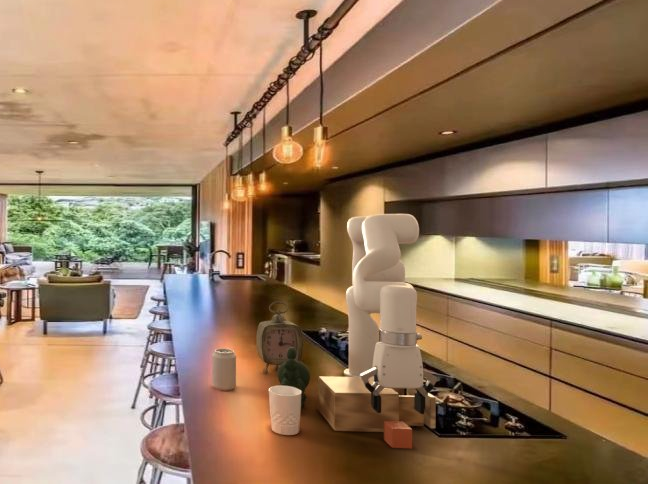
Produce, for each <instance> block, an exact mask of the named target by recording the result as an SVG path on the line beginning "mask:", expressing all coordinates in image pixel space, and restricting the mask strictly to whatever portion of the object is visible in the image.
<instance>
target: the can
mask: <svg viewBox="0 0 648 484" xmlns="http://www.w3.org/2000/svg"><path fill="white" fill-rule="evenodd" d="M211 356H212V358H211V359H212V362H211V363H212V365H211V367H212V368H211V369H212V372H211V373H212V375H211V376H212V377H211V378H212V379H211V380H212V382H211V383H212V386H213V387H214V389H216V390H218V391H226V392H227V391H232V390H234V389H235V388H236V387H237V355H236V354H235V351H234V350H233V349H231V348H216V349H214V352H213V353H212V355H211Z"/></svg>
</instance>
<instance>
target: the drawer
mask: <svg viewBox="0 0 648 484" xmlns="http://www.w3.org/2000/svg"><path fill="white" fill-rule="evenodd" d="M391 389H393V390H394V391H396V392H397V393H398V394H399V421H402V422H404V423H405V424H407V425H408V426H409V427H411V426H412V427H415V426H416V427H424V426H425V425H426V426H427V427H428V428H430V429H436V428H437V427H436V422H437V421H436V420H437V419H436V414H437V413H436V412H437V411H436V409H437V408H436V406H439V407H440V408H445V407H446V405H447V404H446V402H445V401H443V400H442V399H440V398H439V397H437V396H435V395H433V394H431V393H430V392H429V393H428V396H427V397H425V409H424V414H420V413H419V412H417V411H416V410H415V409H414V394H415V393H417V391H416V390H415V389H407V388H406V395H405V388H391Z"/></svg>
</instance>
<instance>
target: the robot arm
mask: <svg viewBox="0 0 648 484" xmlns="http://www.w3.org/2000/svg"><path fill="white" fill-rule="evenodd" d="M419 226H420V225H419V223H418V220H417V219H416V217H415V216H414V215H412V214H409V213H377V214H372V215H367V216H364V215H361V216H352V217H351V218H349V219H348V221H347V225H346V231H347V235H348V237H349V238H350V241H351V243H352V264H351V277H352V278H351V282H352V283H351V284H352V285H351V286H349V287H348V288H347V289H346V292H345V302H346V308H347V318H348V319H347V320H348V368H346V369H344V370H343V375H344V377H360V379H361V381H362V382H363V385H364V386H365V387H366V388H367V389H368V390H369V391H370V392H371V406H372V408H373V409H374V410H375V411H376V412H377V413H381V396H380V395H379V393H380V392H381V391H382V390H383V389H384V388H404V389H406V390H407V389H415V390H416V391H417V393H415V394H414V409H415V410H416V411H417V412H419V413H420V414H424V409H425V397H427V396H428V393H429V394H430V392H431V391H433V389H434V386H436V383H437V382H438V377H437V376H436V375H433V374H432V373H430V372H428V371H426V370H424V366H423V358H422V354H421V353H422V352H421V348H420V346H419V344H418V341H419V340H422V339H423V335H422V333H418V332H417V305H418V304H417V303H418V292H417V290H416V289H415V288H414V286H413V284H411V283H409V282H406V268H405V264H404V262H403V261H402V260H401V258H402V251H401V249H400V245H413V244H414V243H416V242H417V241H418V239H419V235H420V227H419ZM372 314H379V323H380V324H378V322H377V321H376V320H375V319H374V318H373V317H372V316H371V315H372ZM370 377H372V379H373V381H374V383H373V384H372V385H371V384H370V383H369V381H368V379H369V378H370ZM424 378H426V379H427V380H426V382H424Z"/></svg>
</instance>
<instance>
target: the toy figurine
mask: <svg viewBox="0 0 648 484" xmlns="http://www.w3.org/2000/svg"><path fill="white" fill-rule="evenodd" d="M287 357H288V360H286V361H285V362H283V363H282V364H281V365H279V369H278V370H277V380H278V382H279V384H280V385H281V386H291V387H295V388H297V389H299V390H301V392H302V393H301V410H302V409H303V408H305V406H306V403H305V401H307V395H306V393H305V392H306V388H307V387H308V386H309V384H310V381H311V373H310V370H309V367H308V366H307V365H306V364H305V363H303V362H302V361H301V360H300V361H298V360H294V359H295V358H296V350H295V348H293V347H290V348H289V349H288V350H287Z"/></svg>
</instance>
